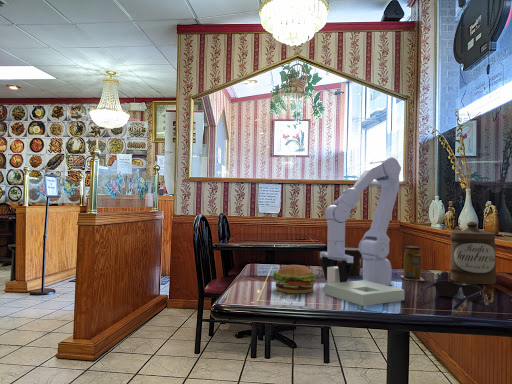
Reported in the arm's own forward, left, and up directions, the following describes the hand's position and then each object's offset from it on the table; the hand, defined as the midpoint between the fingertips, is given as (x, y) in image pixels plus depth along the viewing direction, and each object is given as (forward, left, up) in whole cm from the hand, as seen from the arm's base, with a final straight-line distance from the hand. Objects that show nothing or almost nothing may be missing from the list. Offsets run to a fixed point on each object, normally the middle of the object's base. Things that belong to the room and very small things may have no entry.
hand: (335, 282), depth 131 cm
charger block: (0, 0, -2) cm, 2 cm away
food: (+15, -2, -2) cm, 15 cm away
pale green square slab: (+2, +15, -2) cm, 15 cm away
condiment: (-38, -1, -2) cm, 38 cm away
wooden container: (-55, +12, -2) cm, 56 cm away
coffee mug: (-21, -17, -2) cm, 27 cm away
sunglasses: (-17, +30, -2) cm, 34 cm away
